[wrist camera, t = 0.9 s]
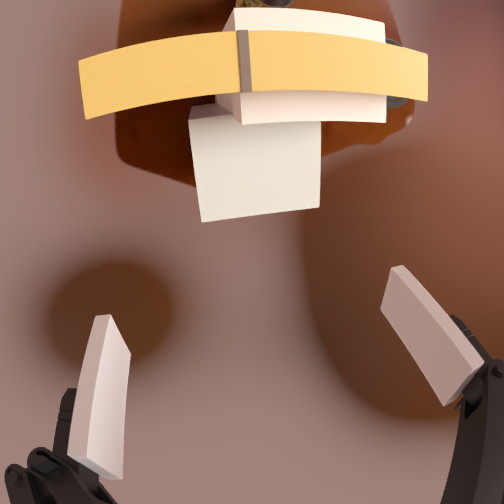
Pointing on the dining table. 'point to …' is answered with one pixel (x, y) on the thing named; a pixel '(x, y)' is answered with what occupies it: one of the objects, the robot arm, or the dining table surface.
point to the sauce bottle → (262, 3)
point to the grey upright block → (253, 164)
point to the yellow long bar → (247, 68)
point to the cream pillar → (304, 101)
